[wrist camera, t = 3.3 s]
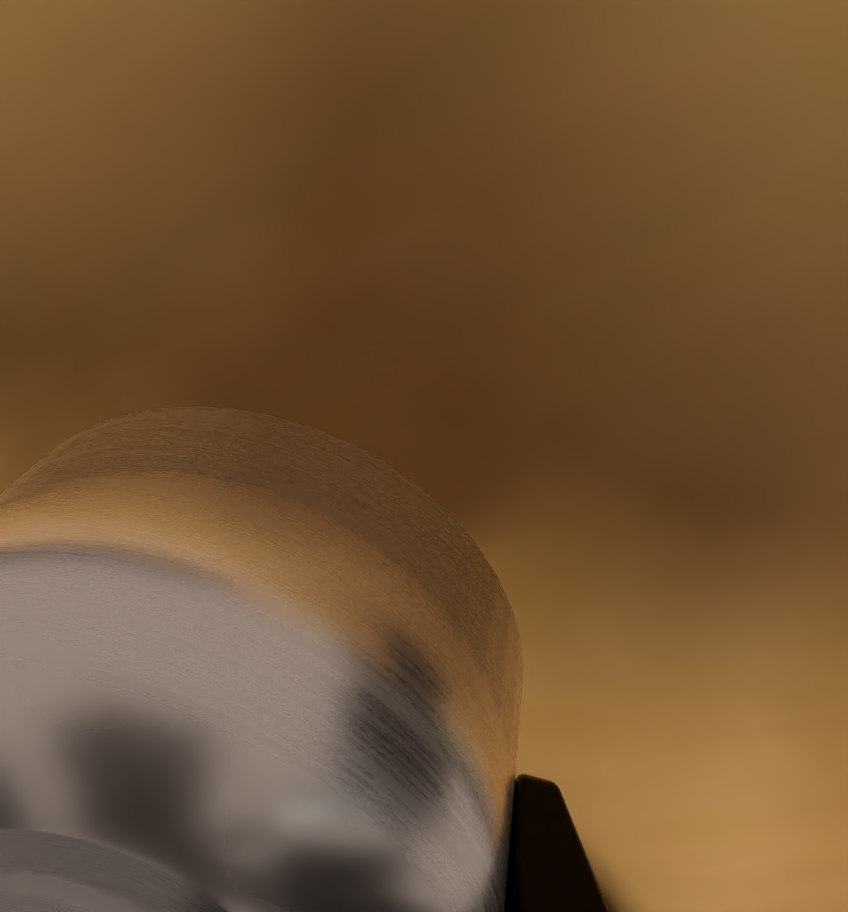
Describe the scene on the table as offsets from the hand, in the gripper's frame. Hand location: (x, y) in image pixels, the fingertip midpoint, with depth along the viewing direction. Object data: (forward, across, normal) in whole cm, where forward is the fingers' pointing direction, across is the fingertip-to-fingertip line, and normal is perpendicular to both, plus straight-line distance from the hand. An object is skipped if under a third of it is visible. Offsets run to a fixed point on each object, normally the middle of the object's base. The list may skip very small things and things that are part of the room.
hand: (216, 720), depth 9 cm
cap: (+1, 0, 0) cm, 1 cm away
